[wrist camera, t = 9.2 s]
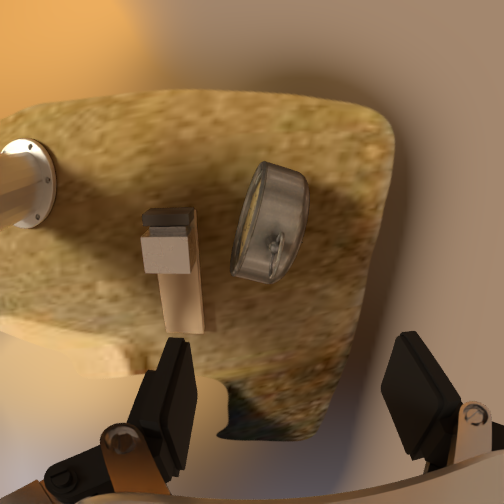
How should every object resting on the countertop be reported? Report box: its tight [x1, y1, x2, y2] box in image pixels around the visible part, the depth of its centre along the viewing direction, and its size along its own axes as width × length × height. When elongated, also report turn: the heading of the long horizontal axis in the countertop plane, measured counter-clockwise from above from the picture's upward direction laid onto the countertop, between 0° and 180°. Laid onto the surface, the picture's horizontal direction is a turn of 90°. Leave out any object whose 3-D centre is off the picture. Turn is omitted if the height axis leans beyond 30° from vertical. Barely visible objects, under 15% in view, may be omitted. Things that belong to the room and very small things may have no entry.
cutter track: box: [142, 207, 205, 334], centre depth 36 cm, size 5×17×4 cm, turn 0°
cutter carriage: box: [141, 225, 196, 274], centre depth 33 cm, size 5×5×4 cm
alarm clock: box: [230, 161, 310, 284], centre depth 28 cm, size 11×5×16 cm, turn 163°
